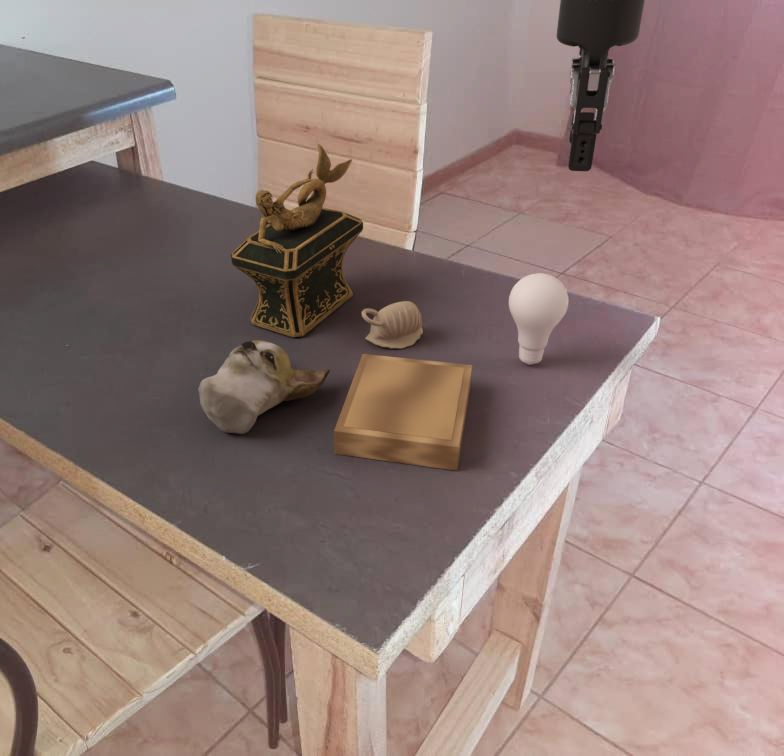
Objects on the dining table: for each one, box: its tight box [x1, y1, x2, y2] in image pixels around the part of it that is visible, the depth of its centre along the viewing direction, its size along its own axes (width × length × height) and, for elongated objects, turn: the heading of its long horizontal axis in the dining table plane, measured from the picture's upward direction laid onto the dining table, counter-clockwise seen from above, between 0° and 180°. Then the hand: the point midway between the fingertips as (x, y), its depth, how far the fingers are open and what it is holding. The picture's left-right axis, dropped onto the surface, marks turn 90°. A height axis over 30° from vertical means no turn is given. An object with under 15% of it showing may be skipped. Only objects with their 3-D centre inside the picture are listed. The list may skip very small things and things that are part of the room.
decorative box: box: [230, 143, 364, 338], centre depth 97 cm, size 20×10×20 cm, turn 144°
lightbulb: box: [508, 272, 570, 366], centre depth 85 cm, size 6×6×11 cm
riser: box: [333, 353, 473, 471], centre depth 80 cm, size 12×14×3 cm
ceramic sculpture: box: [197, 339, 331, 435], centre depth 82 cm, size 11×9×15 cm
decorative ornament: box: [361, 300, 424, 350], centre depth 92 cm, size 4×8×5 cm, turn 108°
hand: (579, 156), depth 82 cm, fingers open, 8 cm apart
